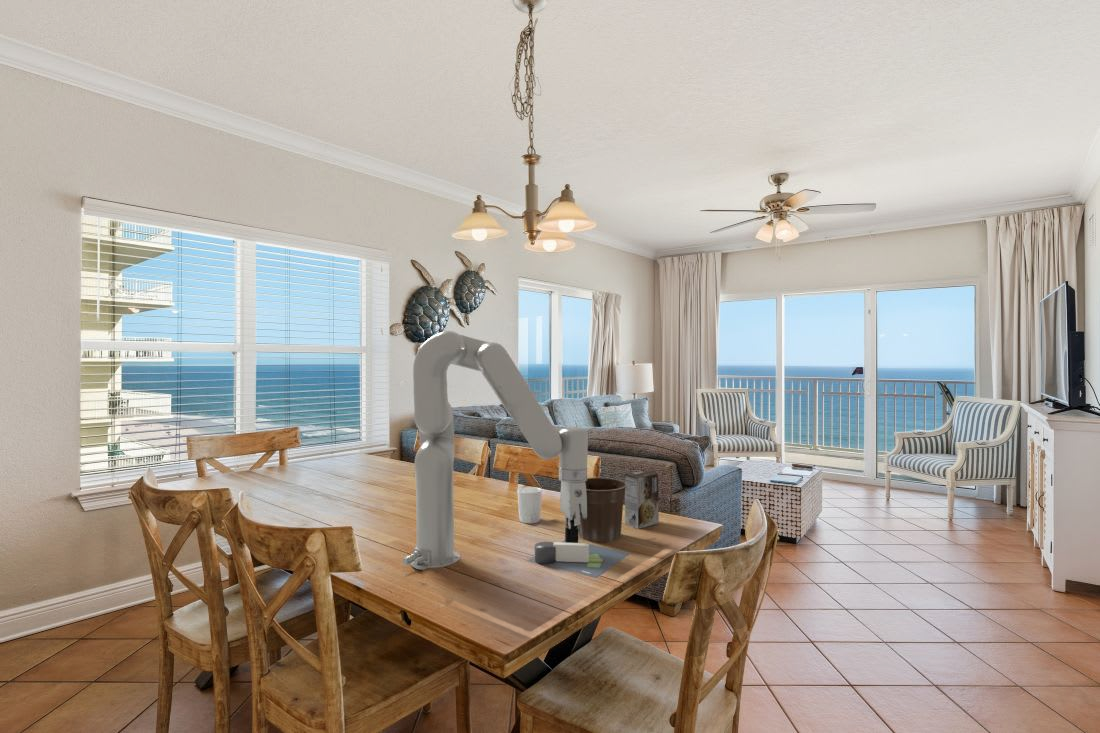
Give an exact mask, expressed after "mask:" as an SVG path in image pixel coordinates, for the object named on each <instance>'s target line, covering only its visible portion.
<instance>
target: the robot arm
mask: <svg viewBox="0 0 1100 733" xmlns="http://www.w3.org/2000/svg"><path fill="white" fill-rule="evenodd" d="M413 360H414V361H413V369H412V373H413V374H412V376H413V378H412V379H413V410H414V413H413V414H414V415H413V418H414V424H415V426H416V428H417V429H418V437H419V448H418V450H417V452H416V453H415V457H414V465H413V466H414V475H415V476H414V478H415V479H414V480H415V481H414V482H415V506H416V507H415V508H416V509H415V510H416V511H415V512H416V513H415V515H416V516H415V518H416V523H415V524H416V546H415V547H413V552H412V553H411V554H410V555H406V556H404V557H402V560H401V561H402V564H403V566H407V565H411V566H412V567H413V568H414V569H416V570H419V571H425V570H427V569H431V568H432V569H435V568H443V567H448V566H450V565H454V564H455V563H456V562H458V561H459V560H460V559H461V554H460V553H459V552H458V551H455V526H454V525H455V516H454V515H455V511H454V510H455V507H454V506H455V504H454V503H455V501H454V498H455V497H454V496H455V494H454V493H455V492H454V460H455V455H456V441H455V425H454V411H453V407H452V406H451V404H450V402H449V396H448V378H447V376H448V375H447V374H448V373H447V372H448V369H449V366H450V365H455V366H458V367H462V368H466V369H469V370H474V371H478V372H481V374H482V375H483V377H484V379H485V380H486V381H487V383H488V384H489V386H490V387H491V389H492V390H493V393H494V394H495V395H496V397H497V399H498V400H499V402H500V403H501V405H502V406H503V408H504V409H505V411H506V412H507V414H508V415H509V416H510V417H511V418H512V420H513V421H514V422H515V423H516V425H517V427H518V429H519V430H520V431H521V433H522V435H523V437H524V438H525V439H526V441H527V443H528V444H529V445H530V447H531V448H532V450H533V452H534V454H536V456H537V457H539V458H540V459H543V460H552V459H555V458H556V457H558V456H559V458H558V480H559V481H560V482H561V483H560V496H559V497H560V500H559V501H560V502H559V503H560V508H559V509H560V511H561V513H562V514H563V515H564V524H565V527H564V528H565V530H564V531H565V532H564V540H565V542H566V543H578V542H579V531H578V530H579V526H580V516H581V517H582V518H583V519H586V518H587V493H586V483H585V481H587V478H588V451H589V450H588V448H589V446H588V445H589V444H588V442H589V439H588V438H589V436H588V435H589V433H588V431H587V430H586V428H583V427H580V426H579V427H577V426H569V427H568V426H567V427H556V426H554V425H553V423H552V422H551V421H550V419H549V417H548V415H547V413H545V411H544V409H543V408H542V406H541V405H540V403H539V401H538V400H537V396H535V394H534V391H533V390H532V388H531V387H530V386H529V384H528V382H527V381H526V379H525V377H524V376H523V375H522V373H521V372H520V370H519V368H518V367H517V365H516V364H515V362H514V361H513V359H512V357H511V356H510V354H509V353H508V351H507V350H506V349H505V347H504V346H503V345H502V344H500V343H499V342H495V341H494V342H490V341H485V340H481V339H477V338H474V337H470V336H466V335H463V334H460V333H457V332H455V331H452V330H443V331H441V332H440V331H439V332H437V333H435V334H434V335H432V336H431V337H430V338H427V340H425V341H424V342H423V343H422V344H421V346H420V347H419V348H418V350H417V352H416V354H415V356H414V359H413Z"/></svg>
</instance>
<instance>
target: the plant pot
mask: <svg viewBox="0 0 1100 733" xmlns="http://www.w3.org/2000/svg"><path fill="white" fill-rule="evenodd" d="M585 483H586V493H587V518H586V519H583V518H582V517H581V516H580V526H579V530H578V537H580V538H581V539H582V540H584V541H588V542H592V543H609V542H610V543H611V542H614V541H617V540H619V539H620V538H621V536H622V526H623V524H622V522H623V511H624V501H625V488H626V487H627V483H626V482H625V480H621V479H617V478H610V477H587V481H585Z"/></svg>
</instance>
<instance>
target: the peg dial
mask: <svg viewBox="0 0 1100 733" xmlns="http://www.w3.org/2000/svg"><path fill="white" fill-rule="evenodd" d="M589 544H590V543H589V542H585V543H584V542H581V543H563V542H562V541H559V542H558V541H557V542H556V541H555V542H552V541H541V542H539V541H538V542H536V543H535V544H534V557H535V561H536V562H538V563H543V564H548V563H553V562H555V561H565V562H589V561H591V562H603V559H591V558H589ZM538 563H537V564H538Z"/></svg>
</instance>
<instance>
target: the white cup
mask: <svg viewBox="0 0 1100 733" xmlns="http://www.w3.org/2000/svg"><path fill="white" fill-rule="evenodd" d="M542 494H543V490H542V488H540V487H535V486H525V487H524V486H523V487H520V488H517V505H518V518H519V519H518V520H519V522H520V523H522V524H536V523H540V521H541V512H542Z"/></svg>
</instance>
